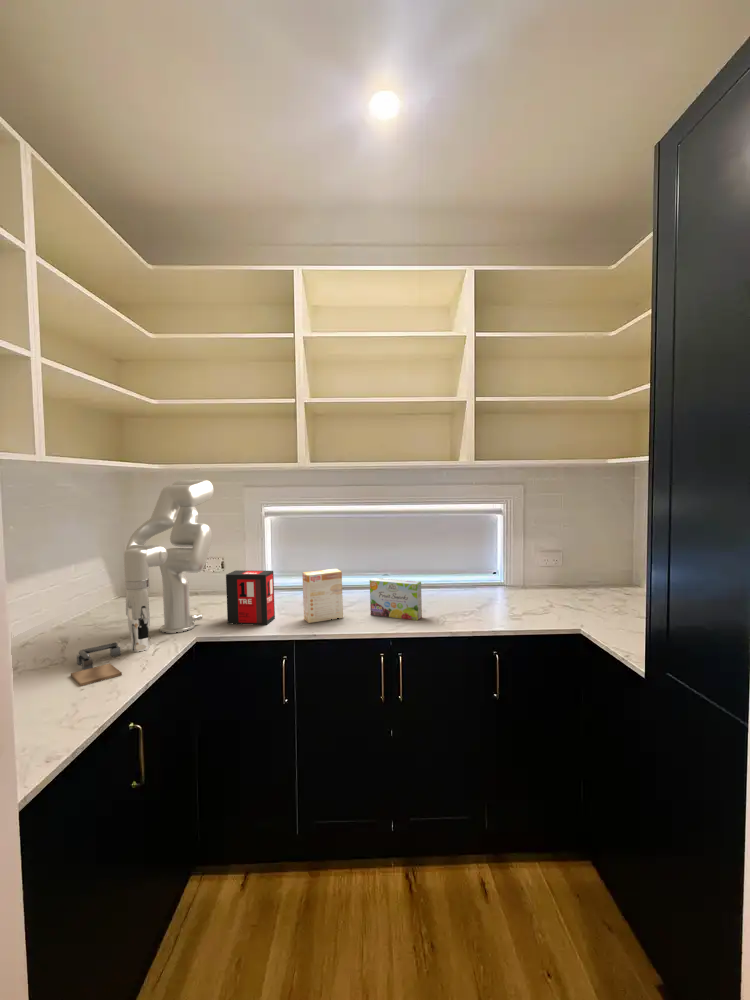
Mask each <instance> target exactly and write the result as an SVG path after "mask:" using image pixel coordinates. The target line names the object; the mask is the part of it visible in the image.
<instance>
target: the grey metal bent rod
mask: <svg viewBox="0 0 750 1000" xmlns="http://www.w3.org/2000/svg"><path fill="white" fill-rule="evenodd" d="M118 644H119V643H117V642H111V643H107V644H106V643H105V644H101V645H98V646H92V647H87V648H84V649H80V650H79V651H78V654H76V664H77V665H78V666H81V667H82V669H83V670H86V669H90V668H94V665H93V664H94V662H93V661H94V660H93V658H92V657H90V656H91V655H90V654H93V653H97V652H101V651H105V650H108V649H109V652H110V656H111V657H112V656H114V657H118V656H117V655H119V656H121V646H120V645H118ZM81 664H82V665H81Z"/></svg>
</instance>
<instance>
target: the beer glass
mask: <svg viewBox="0 0 750 1000" xmlns="http://www.w3.org/2000/svg"><path fill="white" fill-rule="evenodd" d="M150 613H151V612H150V611H149V620H148V633H149V631H150V623H151V616H150V615H151V614H150ZM140 618H143V615H142V613H141V615H140ZM140 621H141V622H142V621H143V620H140ZM127 625H128V631H129V634H130V640H131V644H130V649H129V650H130V652H132V653H133V652H134V653H139V651H141V652H144V650H145V651H148V650H149V649H150V648H151V646H150V642H149V637H148V638H144V639H138V628H139V625H138V619H137V620H133V619H132V609H131V608H129V607H128V616H127ZM147 649H148V650H147Z"/></svg>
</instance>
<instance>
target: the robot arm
mask: <svg viewBox="0 0 750 1000" xmlns="http://www.w3.org/2000/svg"><path fill="white" fill-rule="evenodd" d="M214 490H215V489H214V486H213V483H212V482H211V481H210V480H207V479H181V480H177V481H174V482H173V483H172V485H167V486H166V485H165V487H163V488H162V489H161V491H160V493H159V496H158V498H157V501H156V503H155V506H154V508H153V511H152V514H151V516H150V518H148V519H147V520H146V521H145V522H143V523H142V524H141V525H140V526H138V527H137V528H136V529H135V530H134V532H132V534H131V536H130V538H129V539H128V543H127V545H126V547H125V551H124V552H123V567H124V569H123V570H124V572H123V573H124V591H126V592H125V615H126V616H127V617H128V607H129V608H131V609H132V619H133V620H137V619H138V625H139V628H138V639H144V638H148V639H149V632H148V620H149V612H150V601H149V600H150V598H149V591H148V589H150V573H149V572H150V571H149V568H153V567H154V568H156V567H159V570H160V574H161V580H162V581H161V582H162V597H163V598H162V599H163V601H162V602H163V604H162V605H163V625H161V626H160V627H159V630H160V631H159V632H161V631H162V632H161V633H164V632H166V634H175V633H176V632H178V633H183V631H184V632H187V630H188V631H190V630H193V629H194V628H195V627H196V625H195V621H201V620H203V614H197V615H196V614H194V615H193V614H191V605H190V603H191V602H190V583H189V579H188V578H187V576H186V574H187V573H188V574H197V573H201V572H202V571H203V569H204V568H205V566H206V565H207V564H206V563H207V559H208V555H209V552H210V548H211V544H212V540H213V539H212V538H213V533H212V528H211V527H210V526H209V525H208V524H207V523H203V522H198V520H199V512H198V509H197V508H196V506H200V505H202V504H204V503H206V502H208V501H209V500H211V498H212V497H213V496H214V493H215V491H214ZM169 529H171V532H170V536H169V540H170V543H171V545H173V546H175V547H168V548H165V547H164V546H162V545H157V544H156V545H154V544H150V545H149V544H146V543H147V541H148V540H150V539H151V538H153V537H155V536H156V535H159V534H161V533H164V532H166V531H168V530H169ZM141 613H142V615H143V618H140V615H141ZM140 620H143V621H142V622H141V621H140ZM176 634H177V633H176Z"/></svg>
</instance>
